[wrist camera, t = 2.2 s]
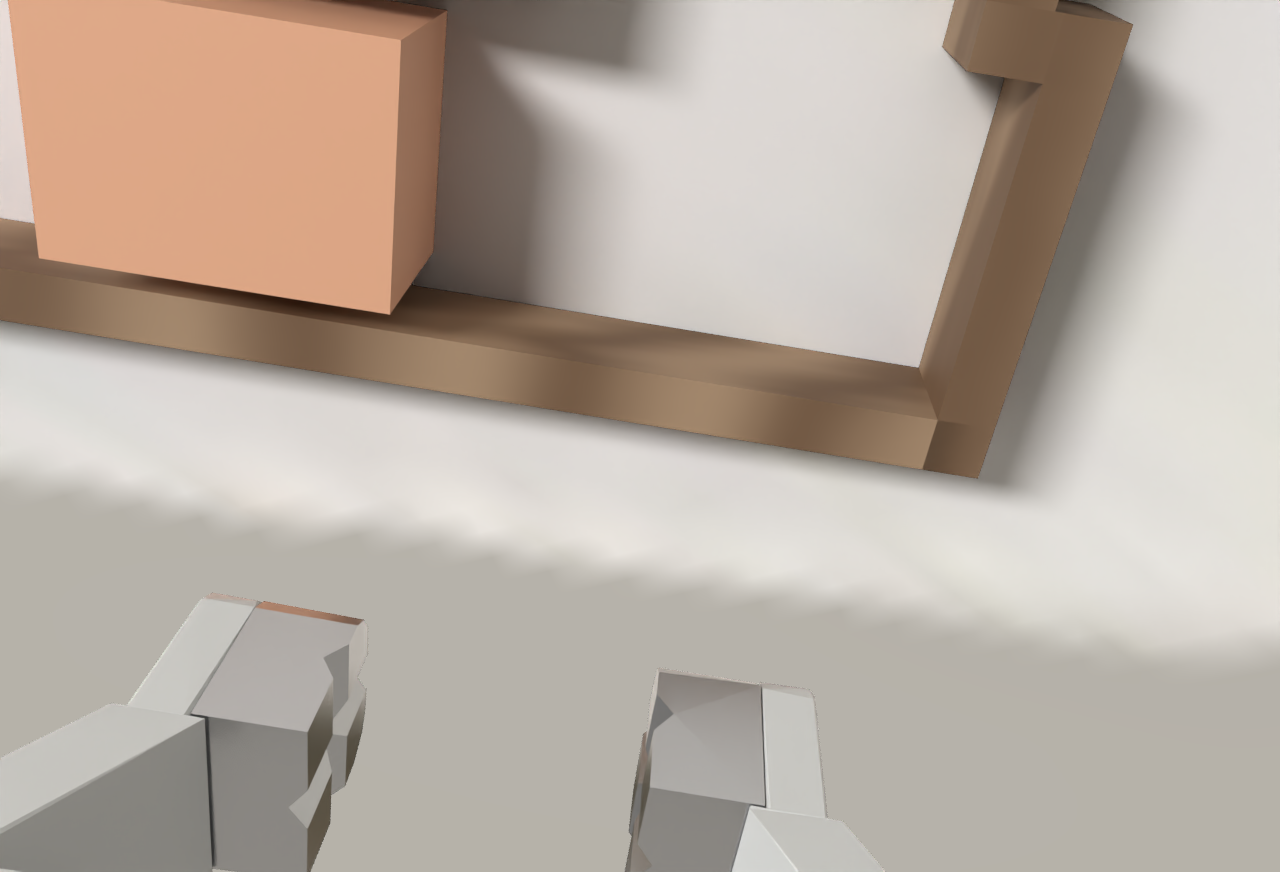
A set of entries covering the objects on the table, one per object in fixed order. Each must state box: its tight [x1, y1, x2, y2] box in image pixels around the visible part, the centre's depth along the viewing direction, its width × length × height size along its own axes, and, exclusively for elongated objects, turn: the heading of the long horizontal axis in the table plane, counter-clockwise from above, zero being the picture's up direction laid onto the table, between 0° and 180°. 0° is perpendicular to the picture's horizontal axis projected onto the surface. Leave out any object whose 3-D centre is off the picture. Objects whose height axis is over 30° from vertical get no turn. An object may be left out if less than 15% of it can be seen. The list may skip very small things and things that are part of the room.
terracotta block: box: [8, 0, 447, 314], centre depth 26 cm, size 8×6×4 cm
